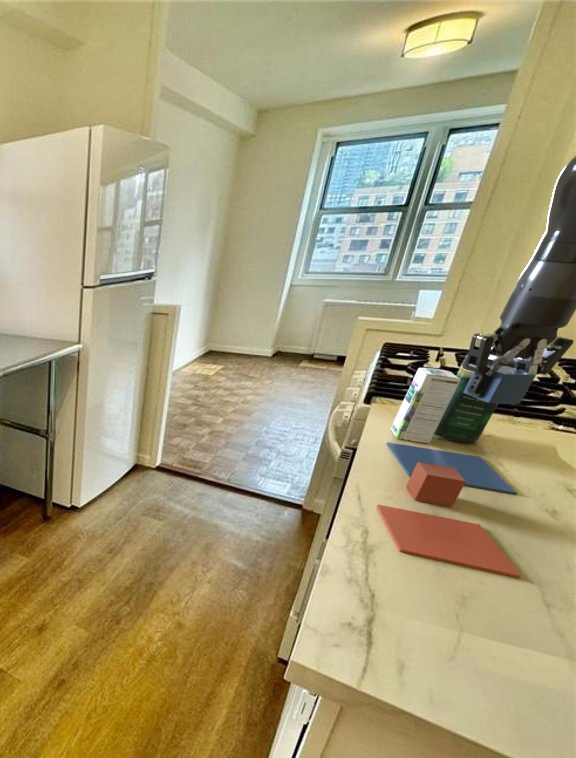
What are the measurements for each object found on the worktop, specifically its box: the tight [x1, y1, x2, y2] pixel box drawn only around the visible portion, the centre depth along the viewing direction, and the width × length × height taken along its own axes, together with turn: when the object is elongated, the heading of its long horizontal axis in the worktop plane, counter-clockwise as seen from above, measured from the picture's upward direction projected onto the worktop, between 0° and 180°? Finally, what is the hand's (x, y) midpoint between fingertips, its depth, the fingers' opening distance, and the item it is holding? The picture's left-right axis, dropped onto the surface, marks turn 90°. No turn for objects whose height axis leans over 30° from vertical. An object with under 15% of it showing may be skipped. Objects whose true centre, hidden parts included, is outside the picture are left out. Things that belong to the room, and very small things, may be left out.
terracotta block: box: [406, 462, 466, 508], centre depth 81 cm, size 5×5×5 cm
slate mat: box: [386, 441, 518, 495], centre depth 92 cm, size 15×15×1 cm
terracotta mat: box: [376, 504, 522, 579], centre depth 72 cm, size 13×13×1 cm
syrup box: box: [390, 367, 461, 444], centre depth 101 cm, size 6×6×14 cm
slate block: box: [463, 366, 537, 405], centre depth 81 cm, size 5×5×5 cm
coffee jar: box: [433, 353, 515, 444], centre depth 101 cm, size 10×8×19 cm
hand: (491, 395), depth 82 cm, fingers closed on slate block, 5 cm apart
